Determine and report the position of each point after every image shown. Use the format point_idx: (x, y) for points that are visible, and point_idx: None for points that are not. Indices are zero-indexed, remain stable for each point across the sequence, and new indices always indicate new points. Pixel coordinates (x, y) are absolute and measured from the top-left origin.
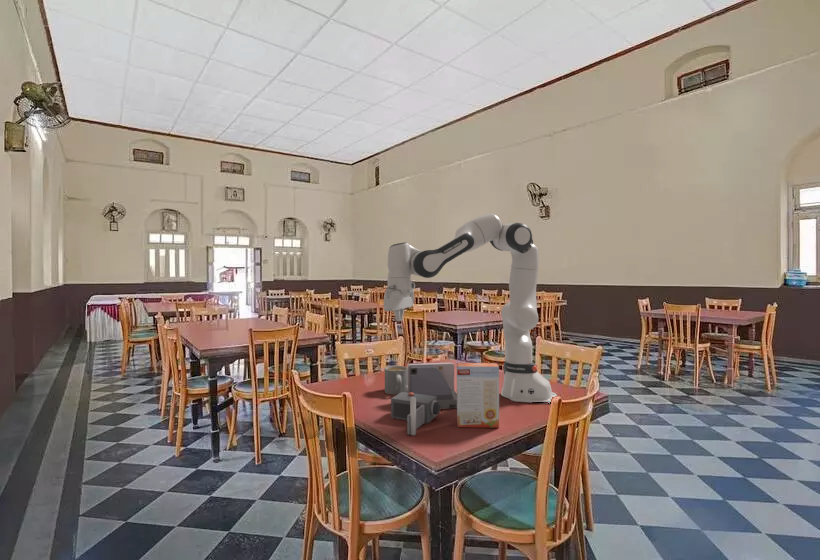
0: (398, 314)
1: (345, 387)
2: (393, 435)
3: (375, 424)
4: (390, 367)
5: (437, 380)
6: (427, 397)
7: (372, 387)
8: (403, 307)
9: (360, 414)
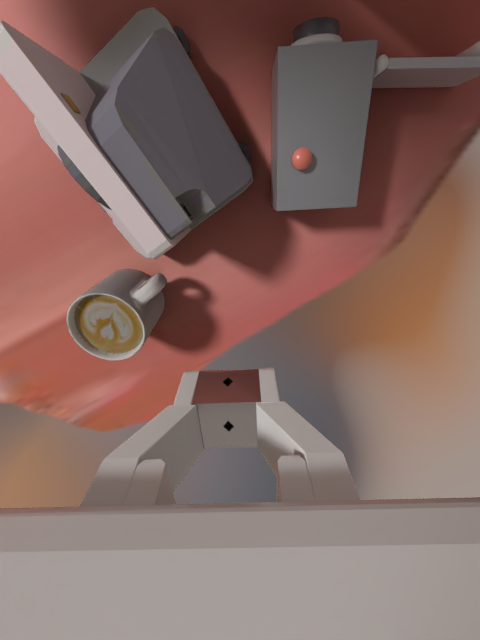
0: (311, 432)
1: None
2: (460, 127)
3: (391, 216)
4: (98, 352)
5: (162, 94)
6: (306, 80)
7: (143, 361)
8: (200, 529)
9: (334, 285)
